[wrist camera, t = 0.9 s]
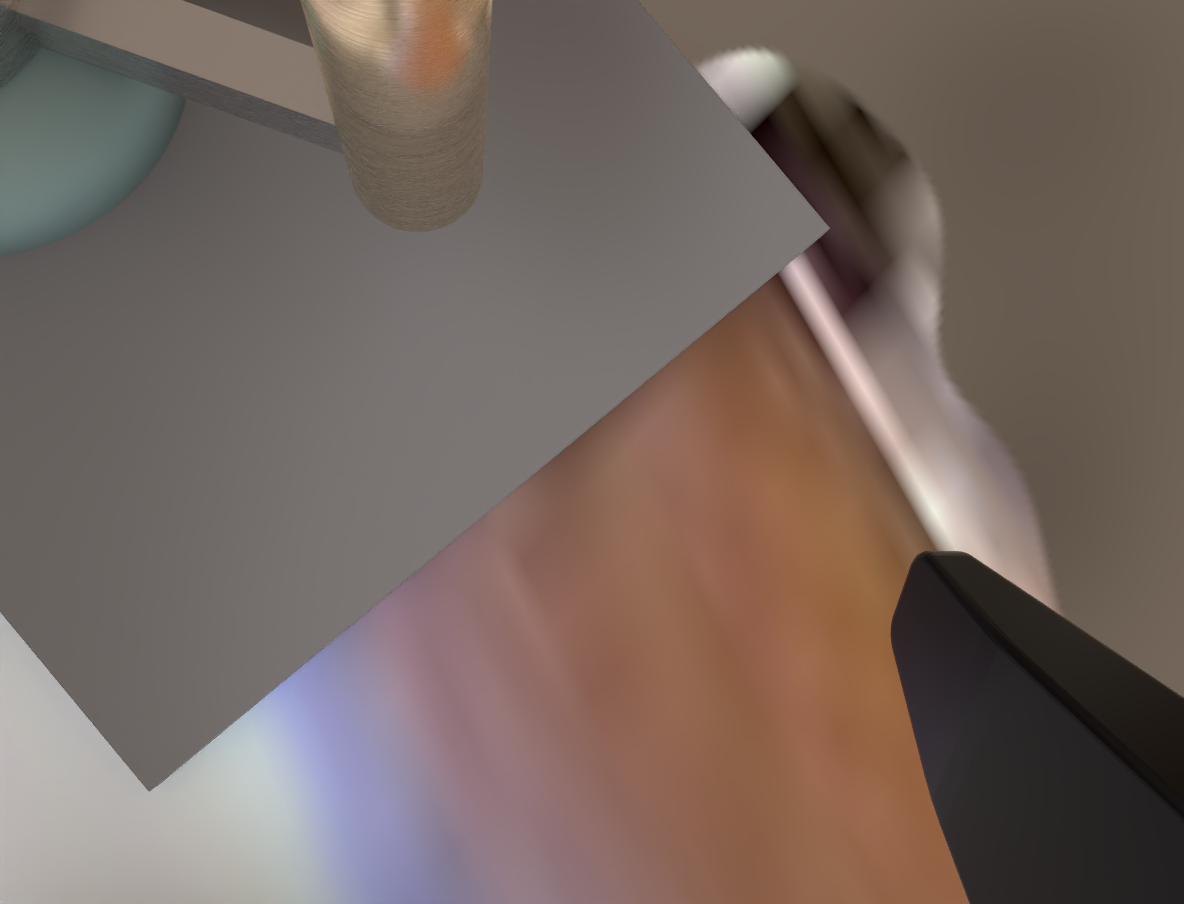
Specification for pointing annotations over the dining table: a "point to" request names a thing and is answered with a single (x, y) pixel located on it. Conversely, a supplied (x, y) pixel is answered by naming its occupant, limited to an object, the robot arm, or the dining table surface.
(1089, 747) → the robot arm
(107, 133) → the teal round piece
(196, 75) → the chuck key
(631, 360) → the mat
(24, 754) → the dining table surface
